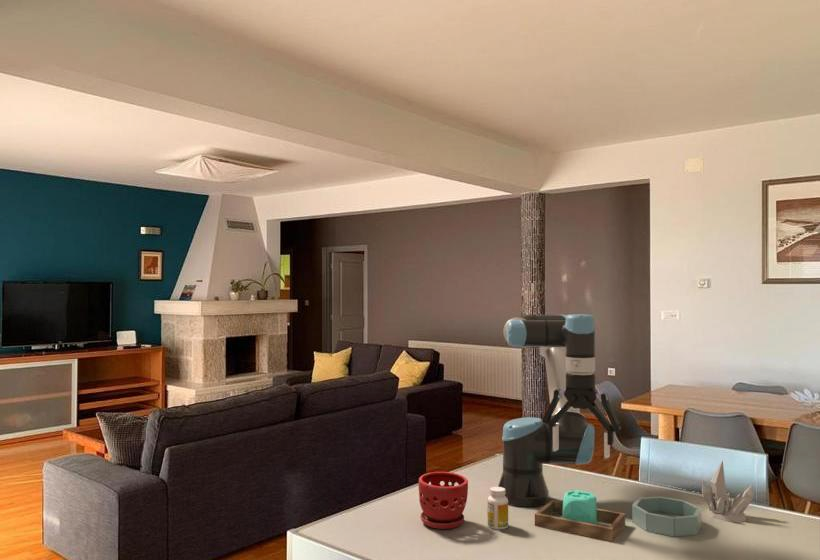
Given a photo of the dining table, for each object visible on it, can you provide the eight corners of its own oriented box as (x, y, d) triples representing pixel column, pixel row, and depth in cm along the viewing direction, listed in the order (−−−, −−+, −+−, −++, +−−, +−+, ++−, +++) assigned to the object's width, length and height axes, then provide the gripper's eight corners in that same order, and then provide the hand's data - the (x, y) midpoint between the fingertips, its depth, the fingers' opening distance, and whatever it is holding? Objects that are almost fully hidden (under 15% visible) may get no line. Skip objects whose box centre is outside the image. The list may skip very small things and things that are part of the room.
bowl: (627, 527, 164) (627, 510, 164) (641, 509, 177) (641, 493, 177) (694, 540, 155) (694, 522, 155) (704, 520, 169) (703, 503, 169)
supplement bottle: (510, 523, 167) (509, 486, 167) (506, 531, 162) (506, 493, 162) (489, 521, 168) (489, 484, 169) (485, 528, 163) (485, 490, 164)
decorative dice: (594, 533, 160) (594, 501, 160) (562, 529, 163) (562, 497, 163) (596, 522, 168) (596, 492, 168) (566, 518, 171) (565, 488, 171)
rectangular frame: (534, 525, 165) (534, 513, 165) (552, 510, 176) (551, 500, 176) (612, 541, 155) (611, 529, 155) (625, 525, 166) (625, 513, 166)
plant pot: (411, 529, 163) (411, 482, 163) (427, 512, 175) (427, 469, 176) (460, 535, 159) (460, 487, 159) (473, 518, 171) (473, 473, 171)
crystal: (761, 523, 167) (760, 466, 167) (707, 520, 169) (707, 464, 169) (747, 510, 176) (747, 457, 177) (697, 508, 179) (697, 455, 179)
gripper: (530, 371, 170) (530, 450, 169) (625, 378, 157) (626, 463, 156) (539, 368, 176) (540, 444, 176) (632, 374, 163) (633, 456, 163)
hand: (580, 453), depth 166 cm, fingers open, 13 cm apart
